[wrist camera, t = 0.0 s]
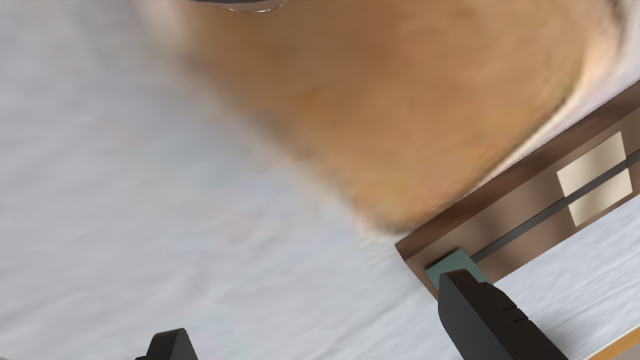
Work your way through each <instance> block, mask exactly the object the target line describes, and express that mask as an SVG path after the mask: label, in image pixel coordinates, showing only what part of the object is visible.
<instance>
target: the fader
mask: <svg viewBox="0 0 640 360" xmlns="http://www.w3.org/2000/svg"><path fill="white" fill-rule="evenodd" d="M463 268H464V269H467V270H468V271H469V272H470V273H471V274H472V275H473V277H474V278H475V279H476V280H477V281H478V282H479V283H481V282H488V283H490V284H491V285H493V284H492V283H491V282H490V281H489V279H488V278H487V277H486V276H485V275H484V274H483V273H482V271H481V270H480V269H479V268H478V267H477V266H476V264H475V263H474V262H473V261H472V260H471V259H470V258H469V256H468V255H467V254H466V253H465V252H464V251H463V250H462V248H460V249H459V250H457V251H455V252H454V253H452V254H451V255H449V256H448V257H446V258H445V259H443V260H441V261H440V262H438V263H437V264H435V265H434V266H432V267H431V268H429V269H427V270H426V271H425V272H426V273H427V275H428V276H429V278H430V280H431V281H432V283H433V284H434V286H435V287H436V289H437V290H438V292H439V276H440V274H441V273H444V272H449V271H453V270H458V269H463ZM493 286H494V285H493Z"/></svg>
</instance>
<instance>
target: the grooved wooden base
mask: <svg viewBox="0 0 640 360" xmlns="http://www.w3.org/2000/svg"><path fill="white" fill-rule="evenodd" d="M639 194H640V81H638V82H637V83H635V84H634V85H632V86H631V87H629V88H628V89H626V90H625V91H623V92H622V93H620V94H619V95H617V96H616V97H614V98H613V99H611V100H610V101H609V102H607V103H606V104H604V105H603V106H601V107H600V108H598V109H597V110H595V111H594V112H592V113H591V114H589V115H588V116H586V117H585V118H583V119H582V120H580V121H579V122H577V123H576V124H574V125H573V126H571V127H570V128H568V129H567V130H565V131H564V132H562V133H561V134H559V135H558V136H556V137H555V138H553V139H552V140H550V141H549V142H547V143H546V144H544V145H543V146H541V147H540V148H538V149H537V150H536V151H534V152H533V153H531V154H530V155H528V156H527V157H525V158H524V159H522V160H521V161H519V162H518V163H516V164H515V165H513V166H512V167H510V168H509V169H507V170H506V171H504V172H503V173H501V174H500V175H498V176H497V177H495V178H494V179H492V180H491V181H489V182H488V183H486V184H485V185H483V186H482V187H480V188H479V189H477V190H476V191H474V192H473V193H471V194H470V195H468V196H467V197H465V198H464V199H462V200H461V201H460V202H458V203H457V204H455V205H454V206H452V207H451V208H449V209H448V210H446V211H445V212H443V213H442V214H440V215H439V216H437V217H436V218H434V219H433V220H431V221H430V222H428V223H427V224H425V225H424V226H422V227H421V228H419V229H418V230H416V231H415V232H413V233H412V234H410V235H409V236H407V237H406V238H404V239H403V240H401V241H400V242H398V243H397V244H395V246H396V248H397V250H398V252H399V253H400V255H401V257H402V258H403V260H404V262H405V263H406V264H407V265H408V267H409V268H410V269H411V270H412V271H413V272H414V274H415V275H416V276H417V277H418V278H419V280H420V281H421V282H422V283H423V284H424V286H425V287H426V288H427V289H428V290H429V292H430V293H431V294H432V295H433V296H434V298H435V299H436V300H437V301H438V294H439V292H438V290H437V289H436V287H435V286H434V284H433V283H432V281H431V280H430V278H429V276H428V275H427V273H426V272H425V271H426V270H427V269H429V268H431V267H432V266H434V265H435V264H437V263H438V262H440V261H441V260H443V259H445V258H446V257H448V256H449V255H451V254H452V253H454V252H455V251H457V250H459V249H460V248H462V250H463V251H464V252H465V253H466V254H467V255H468V256H469V258H470V259H471V260H472V261H473V262H474V263H475V264H476V266H477V267H478V268H479V269H480V270H481V271H482V273H483V274H484V275H485V276H486V277H487V278H488V279H489V281H490V282H491V283H492V284H494V283H495V282H497V281H499V280H500V279H502V278H503V277H505V276H507V275H508V274H510V273H512V272H513V271H515V270H516V269H518V268H520V267H521V266H523V265H525V264H526V263H528V262H530V261H531V260H533V259H534V258H536V257H538V256H539V255H541V254H543V253H544V252H546V251H547V250H549V249H551V248H552V247H554V246H556V245H557V244H559V243H560V242H562V241H564V240H565V239H567V238H569V237H570V236H572V235H574V234H575V233H577V232H578V231H580V230H582V229H583V228H585V227H587V226H588V225H590V224H591V223H593V222H595V221H596V220H598V219H600V218H601V217H603V216H604V215H606V214H608V213H609V212H611V211H613V210H614V209H616V208H617V207H619V206H621V205H622V204H624V203H626V202H627V201H629V200H631V199H632V198H634V197H635V196H637V195H639Z"/></svg>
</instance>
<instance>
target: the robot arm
mask: <svg viewBox="0 0 640 360" xmlns="http://www.w3.org/2000/svg"><path fill="white" fill-rule="evenodd" d="M188 1H193V2H198V3H203V4H208V5H213V6H218V7H222V8H226V9H229V10H233V11H234V10H235V11H237V12H238V11H239V12H246V13H253V12H255V13H257V12H263V11H268V10H272V9H275V8H277V7H279V6H281V5H283V4H285V3H287V2H288V1H290V0H188ZM438 313H439V317H440V320H441V323H442V325H443V327H444V329H445V330H446V332H447V333H448V335H449V337H450V338H451V340H452V341H453V343H454V345H455V346H456V348H457V349H458V351H459V352H460V354H461V356H462V357H463V359H464V360H568V358H567V357H566V356H565V355H564V354H563V353H562V352H561V351H560V350H559V349H558V348H557V347H556V346H555V345H554V344H553V343H552V342H551V341H550V340H549V339H548V338H547V337H546V336H545V335H544V333H543V332H542V331H541V330H540V329H539V328H538V327H537V326H536V325H535V324H534V323H533V322H532V321H531V320H530V321H529V319H528V317H527V316H526V315H525V314H524V313H523V312H522V311H521V310H520V309H518V308H517V305H516V304H515V303H514V302H513V301H512V300H511V299H510V298H509V297H508V296H507V295H506V294H505V293H504V292H503V291H501V290H500V289H498V288H496V287H495V286H493V285H491V284H490V283H488V282H481V283H479V282H478V281H477V280H476V279H475V278H474V277H473V275H472V274H471V273H470V272H469V271H468V270H467V269H464V268H463V269H458V270H453V271H449V272H444V273H441V274H440V276H439V294H438ZM135 360H198V358H197V356H196V353H195V351H194V349H193V346H192V344H191V341H190V339H189V337H188V334H187V332H186V330H185V329H184V328H180V329H175V330H170V331H166V332H161V333H157V334H155V335H154V337H153V338H152V341H151V343H150V346H149V349H148V351H147V354H146V356H142V357H137V358H136V359H135Z"/></svg>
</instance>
